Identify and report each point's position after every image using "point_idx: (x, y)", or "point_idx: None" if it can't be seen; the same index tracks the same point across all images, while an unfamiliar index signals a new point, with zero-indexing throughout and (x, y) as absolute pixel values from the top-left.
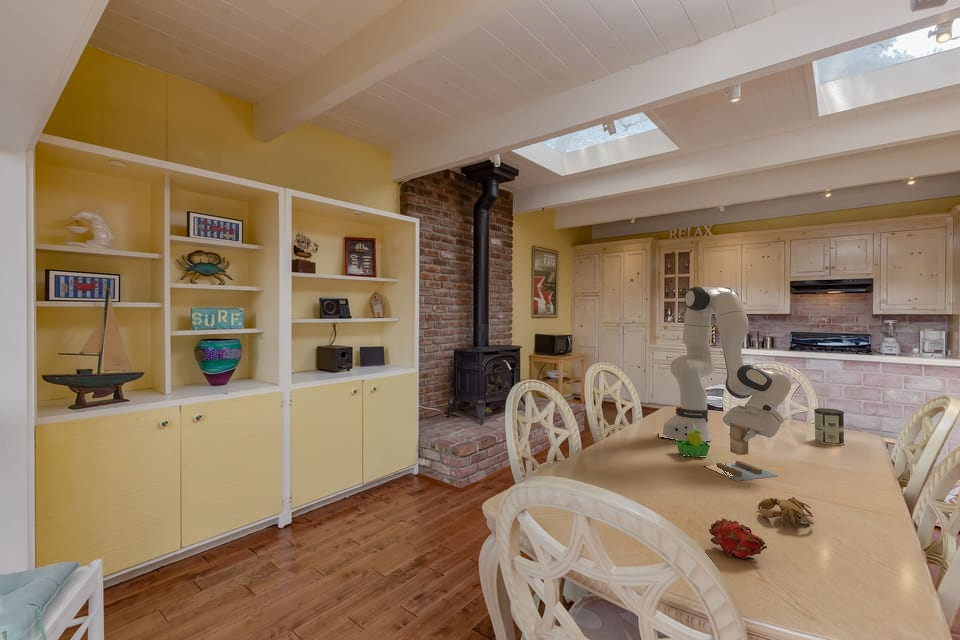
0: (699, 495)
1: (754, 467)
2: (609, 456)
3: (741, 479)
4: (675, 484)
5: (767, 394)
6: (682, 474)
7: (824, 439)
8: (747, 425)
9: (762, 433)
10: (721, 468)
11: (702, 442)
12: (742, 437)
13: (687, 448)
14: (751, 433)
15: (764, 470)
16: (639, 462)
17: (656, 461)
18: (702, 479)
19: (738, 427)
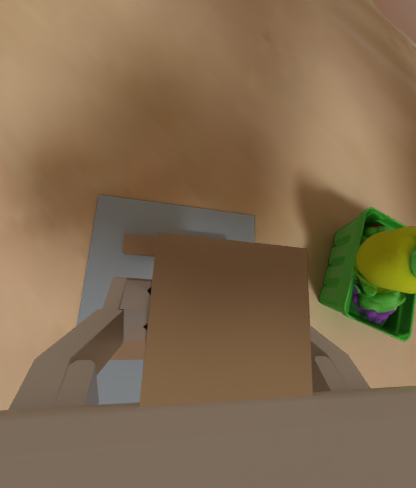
0: (63, 11)
1: (140, 349)
2: (371, 65)
3: (100, 223)
4: (156, 30)
5: None
6: (211, 106)
7: None
8: (133, 433)
9: None
10: None
11: (380, 304)
12: (138, 282)
13: (354, 231)
14: (51, 357)
15: (135, 401)
16: (320, 89)
17: (318, 131)
18: (157, 119)
19: (159, 232)
